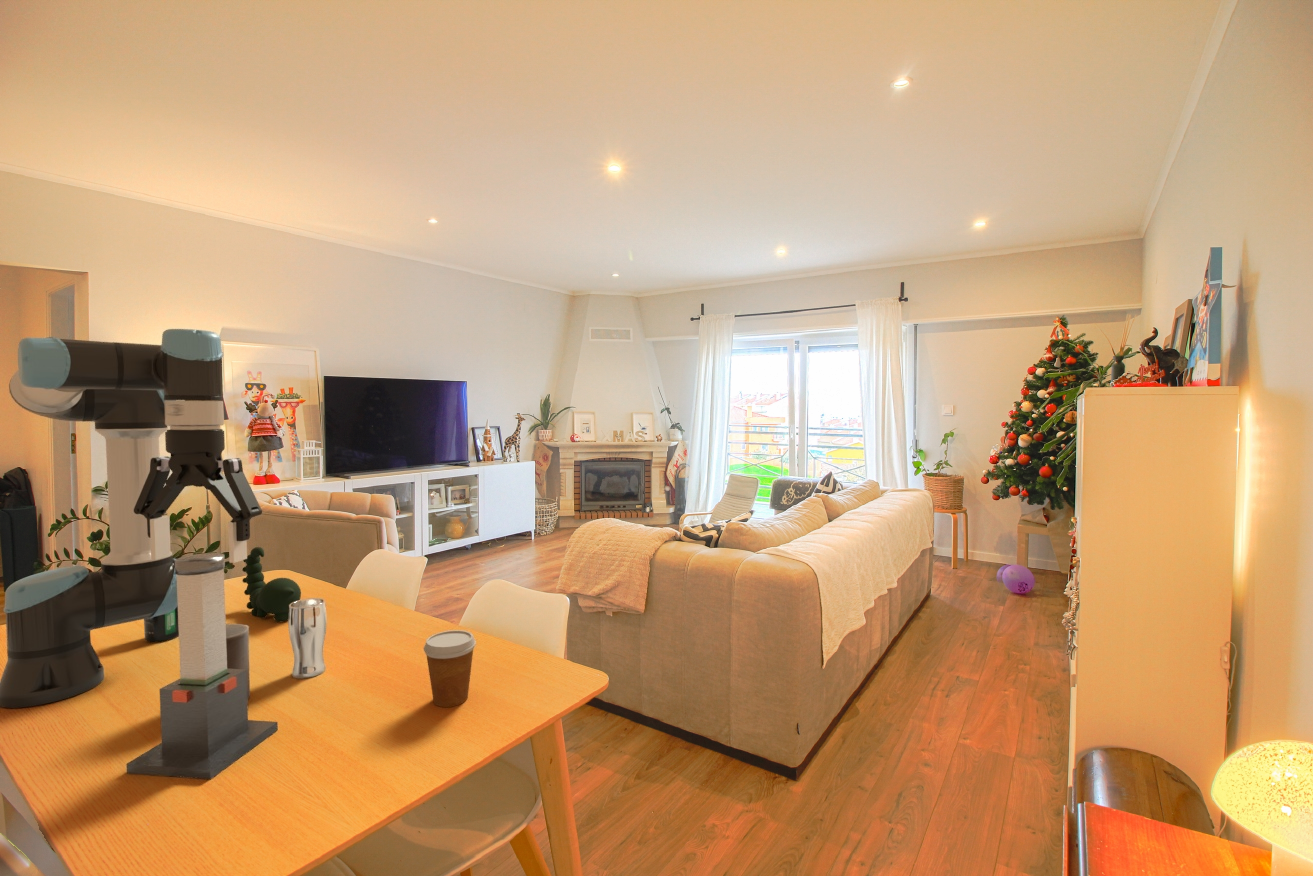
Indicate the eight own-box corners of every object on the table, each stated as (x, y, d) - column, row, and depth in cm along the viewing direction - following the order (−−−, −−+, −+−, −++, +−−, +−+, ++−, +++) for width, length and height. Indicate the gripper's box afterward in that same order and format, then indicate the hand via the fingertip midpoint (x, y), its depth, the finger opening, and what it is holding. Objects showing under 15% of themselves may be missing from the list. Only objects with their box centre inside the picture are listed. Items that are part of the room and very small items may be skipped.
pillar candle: (201, 721, 108) (199, 638, 108) (177, 706, 113) (176, 627, 113) (260, 699, 117) (259, 622, 116) (235, 686, 122) (234, 613, 121)
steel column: (169, 711, 96) (163, 562, 95) (203, 692, 102) (198, 552, 101) (206, 714, 95) (201, 563, 94) (238, 694, 101) (234, 553, 100)
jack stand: (126, 773, 93) (123, 697, 92) (203, 725, 107) (201, 659, 106) (210, 779, 91) (207, 702, 91) (277, 730, 105) (275, 662, 105)
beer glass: (310, 681, 124) (308, 609, 123) (281, 678, 125) (279, 607, 125) (335, 667, 131) (333, 598, 130) (307, 664, 132) (305, 596, 131)
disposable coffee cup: (427, 716, 110) (426, 651, 110) (421, 694, 119) (420, 634, 118) (481, 704, 115) (480, 642, 114) (471, 684, 123) (470, 626, 122)
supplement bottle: (179, 639, 146) (177, 590, 145) (142, 645, 142) (140, 595, 142) (182, 630, 152) (180, 583, 151) (146, 636, 148) (144, 587, 147)
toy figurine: (234, 618, 165) (275, 630, 151) (229, 549, 165) (270, 554, 151) (272, 609, 173) (314, 619, 158) (267, 543, 173) (309, 547, 158)
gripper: (100, 427, 94) (106, 562, 95) (249, 430, 91) (253, 568, 93) (146, 425, 101) (150, 550, 103) (284, 428, 99) (287, 556, 100)
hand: (199, 559), depth 98 cm, fingers open, 13 cm apart
